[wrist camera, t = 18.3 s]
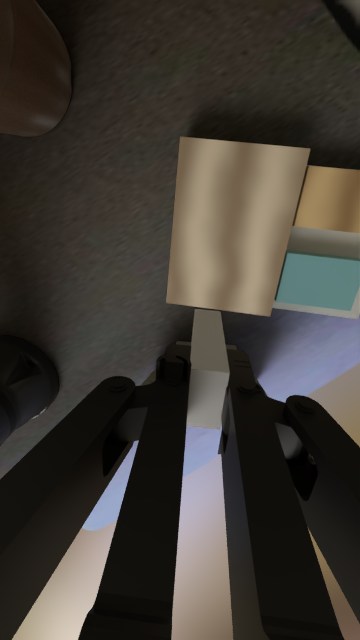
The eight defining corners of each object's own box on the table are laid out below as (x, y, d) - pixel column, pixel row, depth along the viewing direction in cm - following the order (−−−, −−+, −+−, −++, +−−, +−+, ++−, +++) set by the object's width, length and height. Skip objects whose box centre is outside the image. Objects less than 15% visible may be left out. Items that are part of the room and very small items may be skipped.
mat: (268, 306, 39) (269, 307, 38) (301, 165, 32) (303, 164, 32) (355, 317, 38) (357, 319, 38) (408, 175, 31) (411, 175, 31)
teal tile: (272, 295, 38) (275, 301, 35) (282, 249, 35) (287, 253, 33) (342, 304, 37) (350, 311, 35) (357, 258, 35) (368, 262, 32)
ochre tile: (289, 224, 34) (294, 226, 32) (302, 168, 32) (308, 165, 30) (366, 233, 34) (377, 235, 31) (386, 176, 31) (399, 174, 29)
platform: (170, 293, 40) (166, 302, 36) (184, 143, 33) (180, 136, 29) (265, 305, 39) (270, 316, 35) (299, 154, 32) (310, 148, 28)
